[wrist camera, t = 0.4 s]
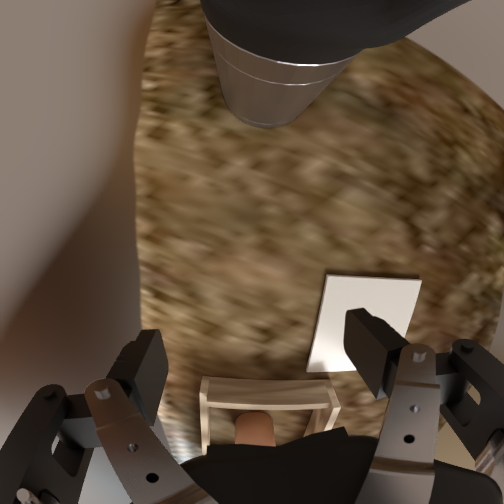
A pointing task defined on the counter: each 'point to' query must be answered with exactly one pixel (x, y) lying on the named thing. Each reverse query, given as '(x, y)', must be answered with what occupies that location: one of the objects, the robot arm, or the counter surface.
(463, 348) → the robot arm
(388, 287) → the tile
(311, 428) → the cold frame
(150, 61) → the counter surface
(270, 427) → the pot
